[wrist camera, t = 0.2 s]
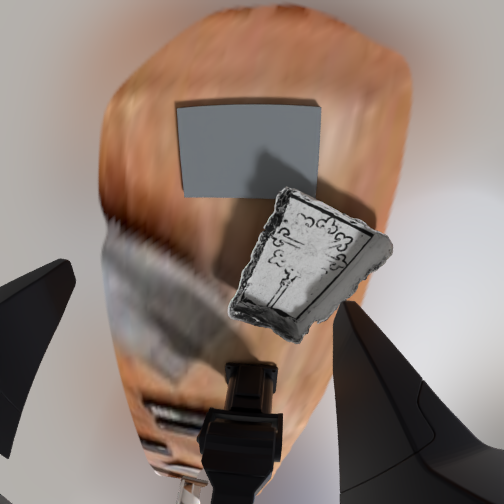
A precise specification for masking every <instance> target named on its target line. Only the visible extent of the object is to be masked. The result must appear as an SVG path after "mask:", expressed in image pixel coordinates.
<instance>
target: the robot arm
mask: <svg viewBox="0 0 504 504" xmlns="http://www.w3.org/2000/svg"><path fill="white" fill-rule="evenodd" d="M75 284H76V278H75V275H74V272H73V268H72V265H71V263H70V261H68V260H66V259H57V260H55V261H53V262H51V263H49V264H46V265H44V266H42V267H40V268H38V269H36V270H34V271H32V272H29V273H27V274H25V275H23V276H21V277H19V278H17V279H15V280H13V281H11V282H9V283H7V284H5V285H3V286H1V287H0V454H1V455H2V456H4V457H5V458H7V459H9V457H10V453H11V449H12V445H13V441H14V437H15V434H16V431H17V427H18V424H19V421H20V417H21V414H22V411H23V407H24V405H25V402H26V399H27V396H28V393H29V391H30V388H31V386H32V383H33V380H34V378H35V375H36V373H37V371H38V368H39V366H40V363H41V361H42V358H43V356H44V354H45V352H46V350H47V348H48V345H49V343H50V341H51V339H52V337H53V335H54V332H55V331H56V329H57V326H58V325H59V322H60V320H61V318H62V315H63V313H64V311H65V308H66V305H67V303H68V301H69V299H70V296H71V294H72V291H73V289H74V287H75ZM225 371H226V377H227V384H228V390H227V395H226V401H225V406H224V410H222V409H215V408H212V407H210V409H209V412H207V413H206V417H205V420H204V423H203V426H202V429H201V431H200V433H199V435H198V436H197V442H198V443H199V447H200V453H201V454H203V455H202V460H201V462H202V465H203V467H204V469H205V472H206V474H207V476H208V478H209V480H210V483H211V485H212V486H213V493H212V499H211V504H254V499H255V496H256V495H257V494H258V492H259V491H260V490H261V489H262V488H263V487H264V486H265V484H266V483H267V482H268V481H269V480H270V478H271V475H272V471H273V465H274V462H280V459H281V451H282V432H283V413H278V414H271V410H272V396H273V394H274V393H275V391H276V383H277V374H278V368H277V367H276V366H261V365H247V364H235V363H226V365H225ZM333 379H334V389H335V400H336V414H337V428H338V445H339V468H340V469H339V472H340V504H504V450H502V449H497V448H493V447H490V446H488V445H486V444H484V443H482V442H481V441H480V440H479V439H477V438H476V437H475V436H474V435H473V434H472V432H471V431H470V430H469V429H468V428H467V427H466V426H465V425H464V424H463V423H462V422H461V421H460V420H459V419H458V418H457V417H456V416H455V415H454V414H453V413H452V412H451V411H450V409H449V408H448V407H447V406H446V405H445V404H444V403H443V402H442V401H441V400H440V399H439V397H438V396H437V395H436V394H435V393H434V392H433V390H432V389H431V388H430V387H429V386H428V384H427V383H426V382H425V381H424V380H422V377H421V376H420V375H419V374H418V373H417V371H416V370H415V369H414V368H413V366H412V365H411V364H410V363H409V362H408V361H407V359H406V358H405V357H404V356H403V355H402V354H401V352H400V351H399V350H398V349H397V348H396V347H395V345H394V344H393V343H392V342H391V341H390V340H389V339H388V337H387V336H386V335H385V334H384V333H383V332H382V331H381V330H380V328H379V327H378V326H377V325H376V324H375V323H374V322H373V320H372V319H371V318H370V317H369V316H368V315H367V314H366V313H365V312H364V310H363V309H362V308H361V307H360V306H359V305H358V304H357V303H356V302H355V301H347V300H343V301H342V302H341V303H340V306H339V308H338V311H337V314H336V316H335V319H334V323H333ZM0 504H12V503H11V502H9V501H8V500H7V499H6V498H5V497H3V496H2V495H1V494H0Z"/></svg>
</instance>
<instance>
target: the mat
mask: <svg viewBox="0 0 504 504" xmlns="http://www.w3.org/2000/svg"><path fill="white" fill-rule="evenodd" d="M177 118H178V132H179V145H180V157H181V168H182V178H183V188H184V197H217V198H262V199H276V197H277V195H278V193H279V191H282V190H283V189H284V188H285V187H286V186H287V187H289V188H291V189H292V188H294V189H297V190H299V191H301V192H303V193H305V194H307V195H309V196H311V197H313V198H314V199H316V188H317V175H318V161H319V145H320V127H321V107H315V106H301V105H279V104H231V105H209V106H195V107H183V108H177Z"/></svg>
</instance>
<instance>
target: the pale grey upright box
mask: <svg viewBox="0 0 504 504" xmlns="http://www.w3.org/2000/svg"><path fill="white" fill-rule="evenodd" d="M207 484H208V481H205V480H200V479H196V478H192V477H188V476H183V477H182V479H181V483H180V488H179V492H178V497H177V501H176V504H200V501H199V495H200V491H201V487H205V486H207Z"/></svg>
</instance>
